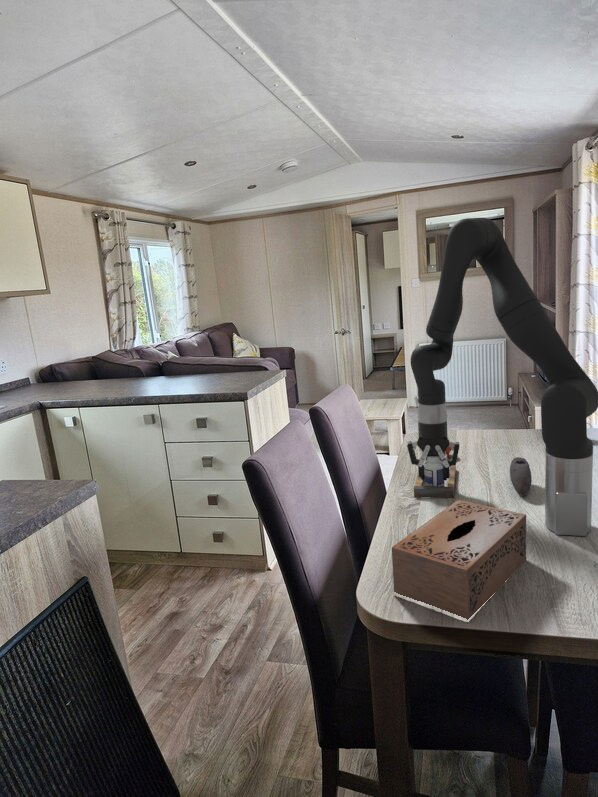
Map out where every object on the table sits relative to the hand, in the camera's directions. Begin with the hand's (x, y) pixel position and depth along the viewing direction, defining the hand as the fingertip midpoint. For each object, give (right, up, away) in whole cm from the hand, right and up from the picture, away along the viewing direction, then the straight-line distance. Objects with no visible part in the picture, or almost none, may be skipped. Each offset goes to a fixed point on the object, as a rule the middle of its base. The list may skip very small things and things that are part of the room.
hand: (434, 478), depth 149 cm
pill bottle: (0, -3, +1) cm, 3 cm away
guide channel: (+2, -2, +5) cm, 6 cm away
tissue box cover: (-5, -13, -44) cm, 46 cm away
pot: (+9, +3, +28) cm, 29 cm away
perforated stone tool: (+22, -3, -4) cm, 22 cm away
